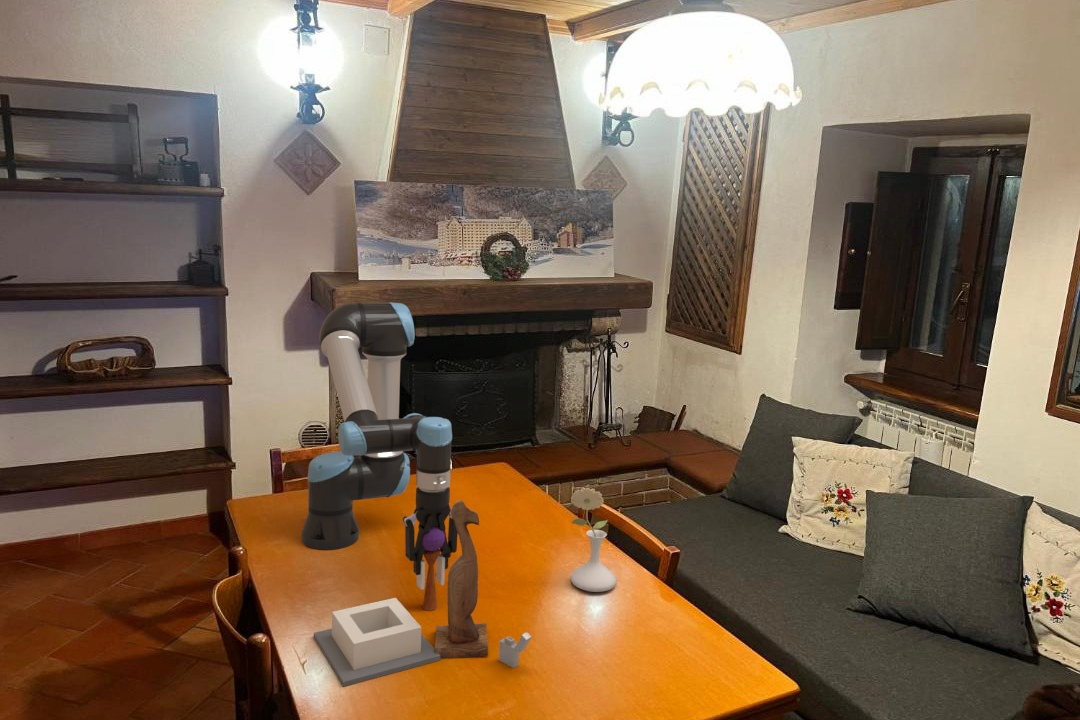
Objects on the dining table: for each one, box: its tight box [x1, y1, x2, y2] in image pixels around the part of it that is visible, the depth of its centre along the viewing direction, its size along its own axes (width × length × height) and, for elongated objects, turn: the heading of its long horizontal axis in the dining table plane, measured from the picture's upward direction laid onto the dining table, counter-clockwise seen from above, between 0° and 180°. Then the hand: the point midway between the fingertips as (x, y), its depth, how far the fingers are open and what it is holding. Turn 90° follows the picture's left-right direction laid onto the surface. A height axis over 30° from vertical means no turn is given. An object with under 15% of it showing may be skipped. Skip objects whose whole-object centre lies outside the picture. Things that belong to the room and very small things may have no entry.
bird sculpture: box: [434, 499, 489, 660], centre depth 163 cm, size 11×12×32 cm
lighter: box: [498, 632, 532, 669], centre depth 159 cm, size 7×2×8 cm, turn 50°
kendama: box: [422, 527, 445, 612], centre depth 179 cm, size 6×6×20 cm
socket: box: [313, 597, 441, 688], centre depth 162 cm, size 20×20×6 cm
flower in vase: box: [570, 487, 617, 593], centre depth 194 cm, size 13×11×25 cm
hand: (430, 584), depth 180 cm, fingers closed on kendama, 4 cm apart
